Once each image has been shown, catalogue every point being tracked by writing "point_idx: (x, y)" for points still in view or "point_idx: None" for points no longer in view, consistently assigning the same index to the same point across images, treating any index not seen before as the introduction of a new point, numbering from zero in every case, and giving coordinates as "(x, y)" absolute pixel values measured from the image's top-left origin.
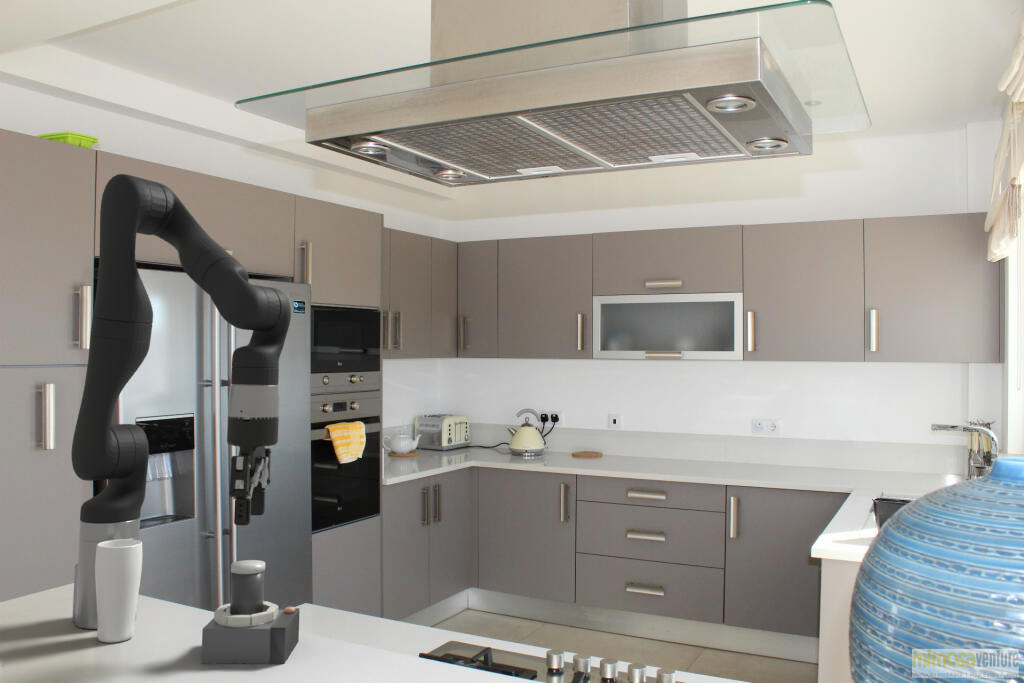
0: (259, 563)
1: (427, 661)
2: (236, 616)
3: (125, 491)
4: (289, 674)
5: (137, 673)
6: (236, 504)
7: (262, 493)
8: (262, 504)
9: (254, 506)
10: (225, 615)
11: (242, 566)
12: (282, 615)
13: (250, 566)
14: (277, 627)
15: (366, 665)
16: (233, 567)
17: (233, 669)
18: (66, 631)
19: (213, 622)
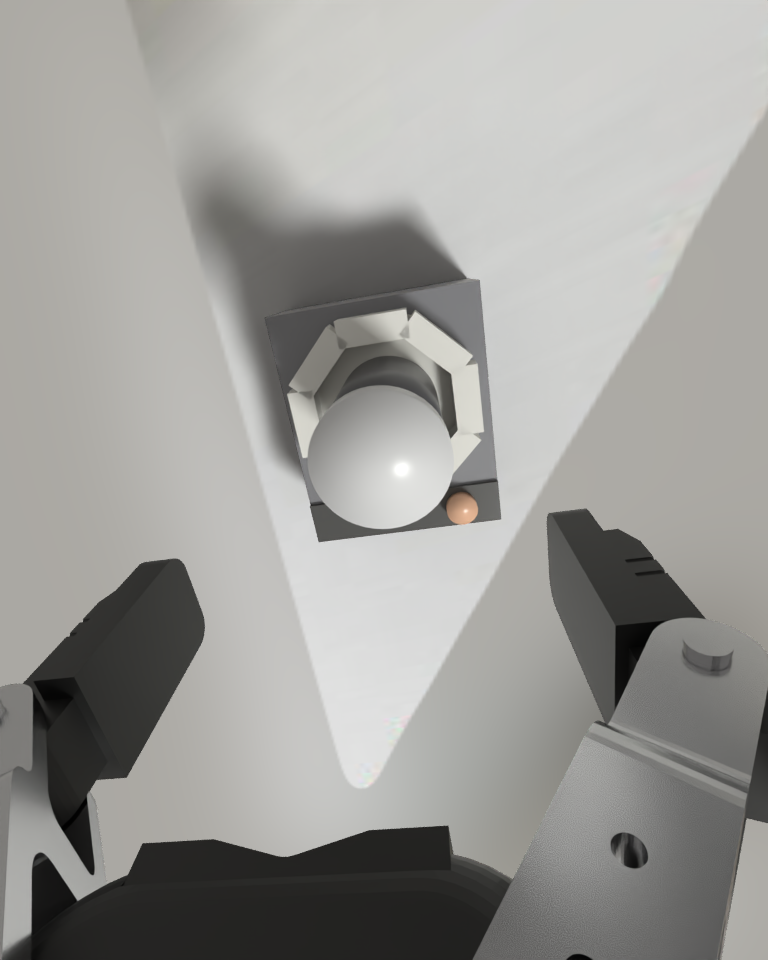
0: (394, 505)
1: (397, 732)
2: (301, 416)
3: None
4: (275, 531)
5: (181, 169)
6: (27, 681)
7: (606, 716)
8: (571, 642)
9: (568, 573)
10: (301, 379)
11: (324, 461)
12: None
13: (332, 492)
14: (314, 522)
15: (356, 648)
16: (319, 421)
17: (272, 407)
18: None
19: (330, 321)
